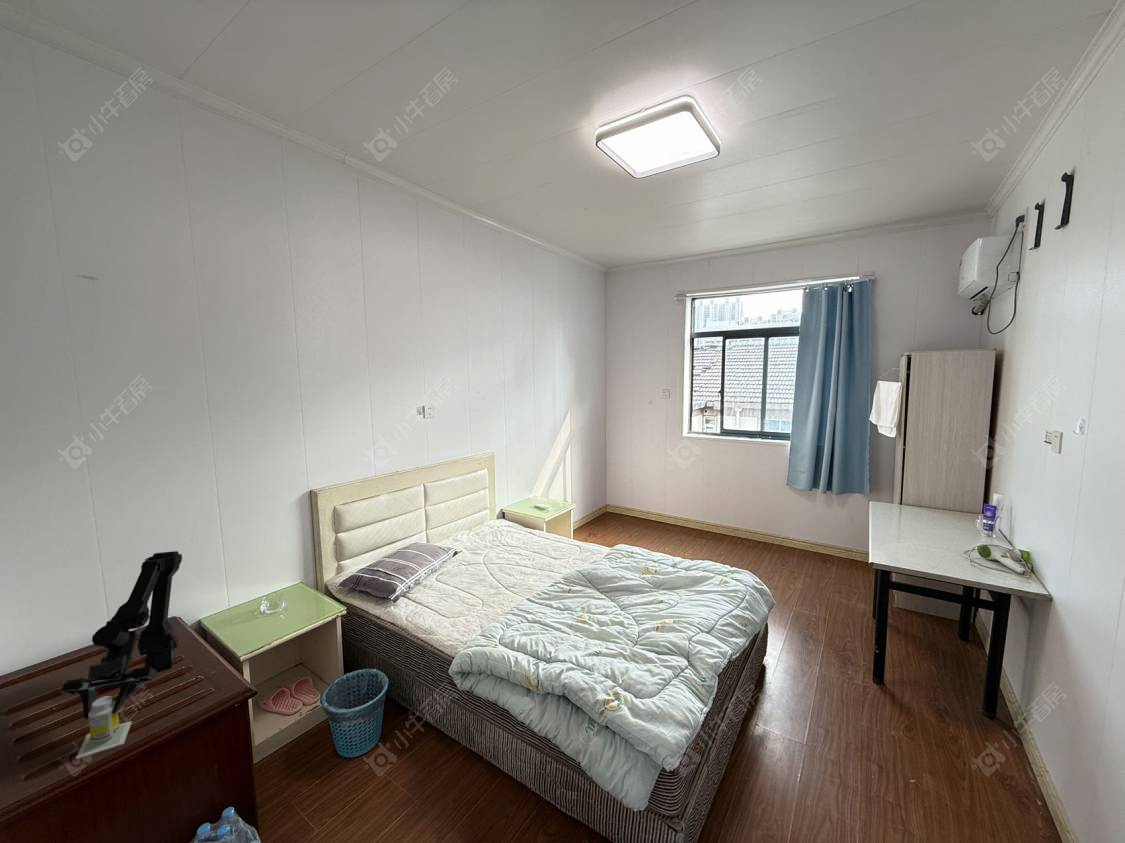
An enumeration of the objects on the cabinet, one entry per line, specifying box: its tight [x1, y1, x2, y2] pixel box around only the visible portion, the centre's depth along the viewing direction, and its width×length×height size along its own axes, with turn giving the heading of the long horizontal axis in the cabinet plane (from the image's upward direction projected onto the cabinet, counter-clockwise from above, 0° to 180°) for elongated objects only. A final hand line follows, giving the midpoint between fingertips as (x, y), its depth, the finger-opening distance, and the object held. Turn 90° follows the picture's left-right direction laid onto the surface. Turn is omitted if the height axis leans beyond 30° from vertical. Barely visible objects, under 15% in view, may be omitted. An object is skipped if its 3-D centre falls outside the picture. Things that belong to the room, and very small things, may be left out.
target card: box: [75, 720, 132, 760], centre depth 121 cm, size 9×9×1 cm
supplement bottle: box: [88, 695, 120, 741], centre depth 120 cm, size 6×6×10 cm
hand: (100, 716), depth 119 cm, fingers closed on supplement bottle, 5 cm apart
